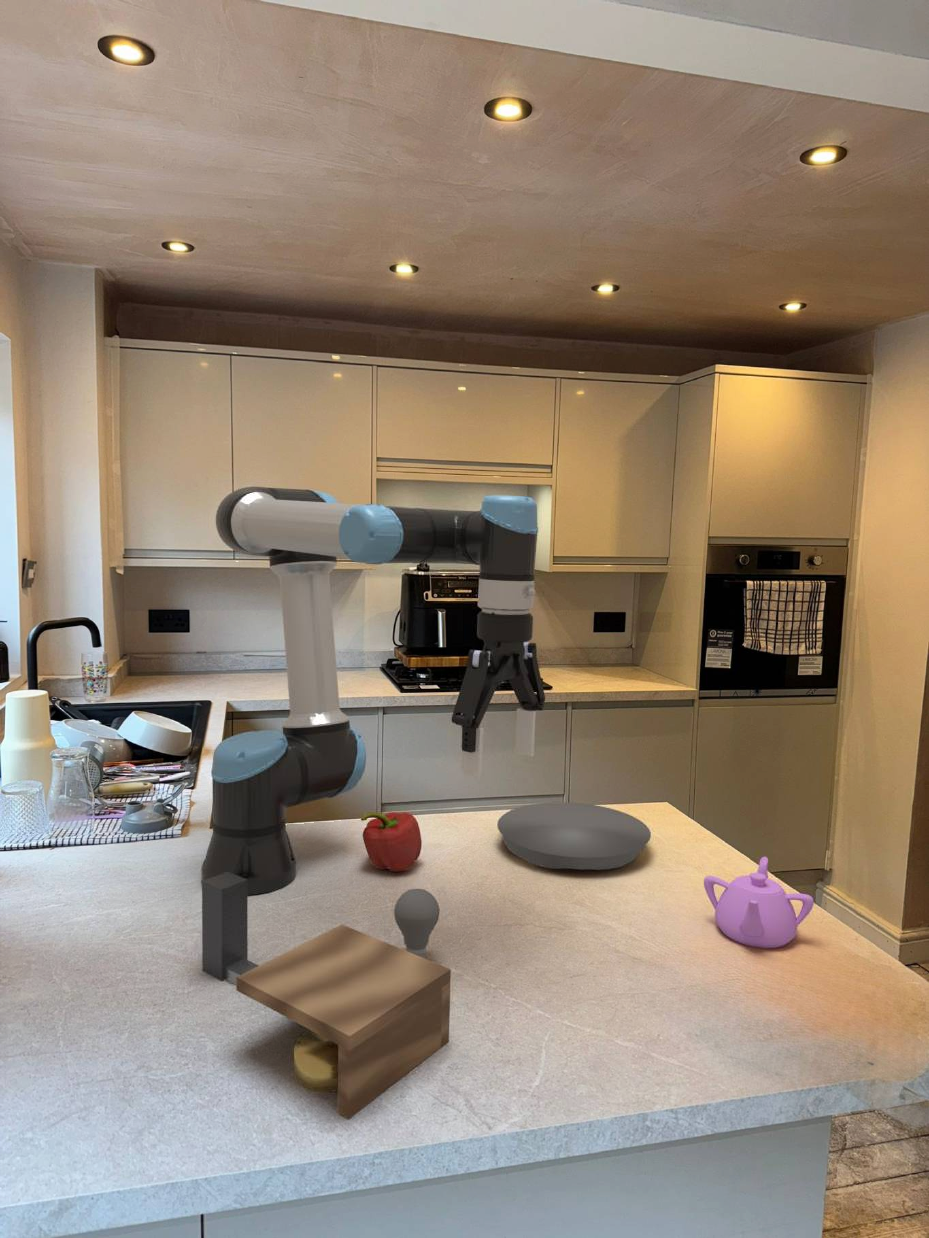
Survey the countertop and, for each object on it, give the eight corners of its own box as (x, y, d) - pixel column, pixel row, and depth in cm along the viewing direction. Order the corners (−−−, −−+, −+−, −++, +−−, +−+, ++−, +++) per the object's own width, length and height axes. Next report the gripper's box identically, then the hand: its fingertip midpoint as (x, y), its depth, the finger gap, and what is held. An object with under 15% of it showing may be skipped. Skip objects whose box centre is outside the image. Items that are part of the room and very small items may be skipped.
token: (279, 1074, 87) (280, 1047, 86) (328, 1043, 92) (328, 1017, 92) (326, 1103, 83) (327, 1074, 82) (374, 1068, 88) (375, 1041, 88)
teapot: (761, 909, 129) (765, 854, 128) (822, 952, 116) (826, 891, 115) (694, 916, 126) (697, 860, 125) (748, 961, 113) (753, 899, 112)
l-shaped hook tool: (202, 970, 106) (201, 881, 105) (227, 958, 110) (227, 871, 109) (322, 1034, 94) (323, 933, 92) (347, 1018, 97) (348, 920, 96)
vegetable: (368, 883, 135) (369, 824, 134) (351, 860, 144) (352, 804, 143) (430, 874, 139) (432, 816, 138) (410, 852, 149) (411, 798, 148)
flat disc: (503, 819, 168) (504, 798, 168) (643, 828, 164) (644, 807, 164) (488, 875, 141) (489, 850, 140) (656, 889, 137) (657, 863, 136)
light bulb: (444, 956, 112) (446, 885, 111) (428, 977, 106) (430, 903, 105) (403, 948, 114) (405, 878, 113) (385, 968, 108) (387, 895, 107)
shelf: (236, 1051, 90) (236, 977, 89) (340, 989, 103) (341, 924, 102) (348, 1118, 80) (349, 1036, 79) (448, 1041, 93) (450, 969, 92)
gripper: (477, 619, 99) (470, 790, 101) (573, 608, 120) (565, 751, 122) (427, 614, 103) (422, 778, 106) (528, 604, 124) (522, 742, 126)
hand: (499, 764), depth 114 cm, fingers open, 13 cm apart
